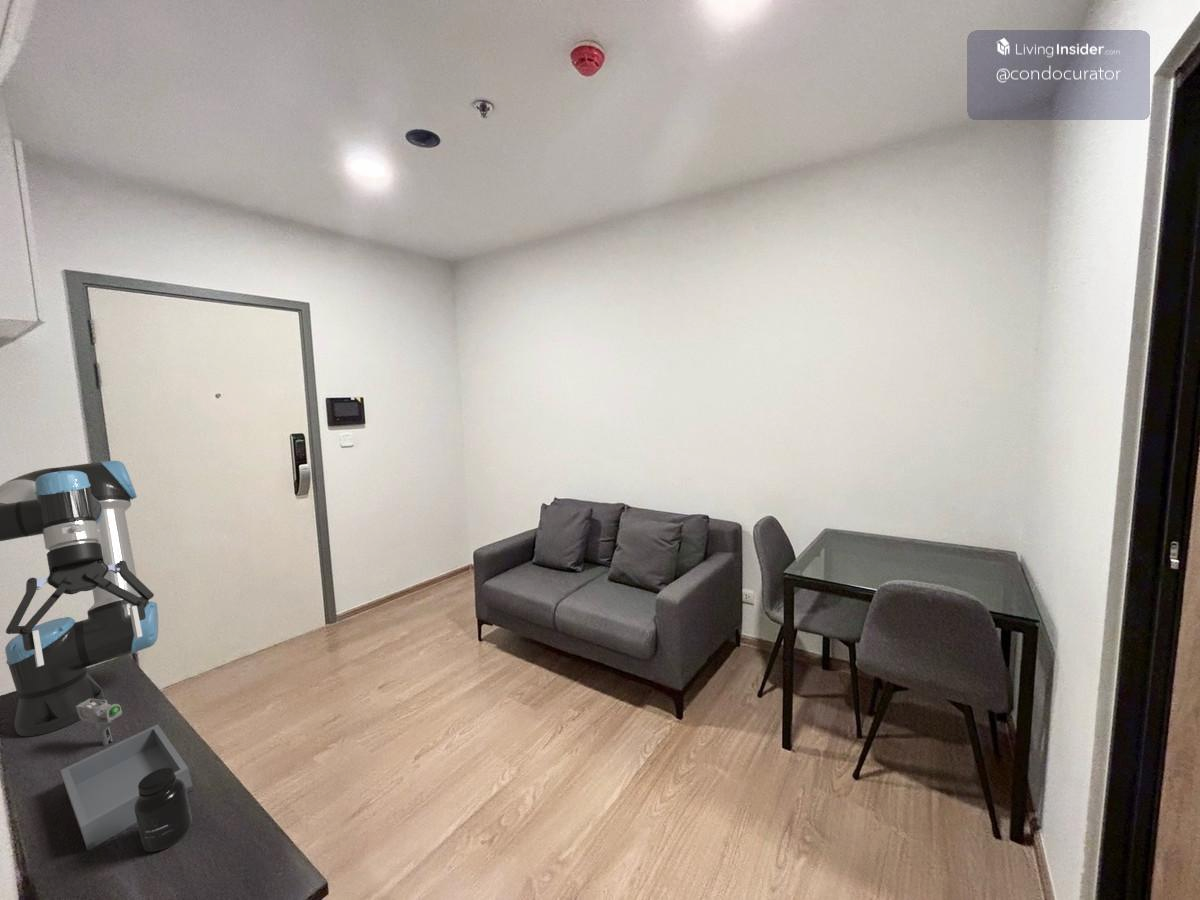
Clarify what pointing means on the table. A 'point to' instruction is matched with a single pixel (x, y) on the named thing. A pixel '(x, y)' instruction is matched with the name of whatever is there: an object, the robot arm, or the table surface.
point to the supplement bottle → (162, 810)
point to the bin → (118, 782)
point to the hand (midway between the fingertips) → (92, 651)
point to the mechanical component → (99, 715)
